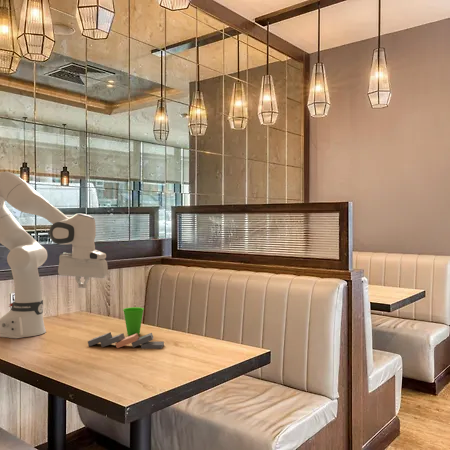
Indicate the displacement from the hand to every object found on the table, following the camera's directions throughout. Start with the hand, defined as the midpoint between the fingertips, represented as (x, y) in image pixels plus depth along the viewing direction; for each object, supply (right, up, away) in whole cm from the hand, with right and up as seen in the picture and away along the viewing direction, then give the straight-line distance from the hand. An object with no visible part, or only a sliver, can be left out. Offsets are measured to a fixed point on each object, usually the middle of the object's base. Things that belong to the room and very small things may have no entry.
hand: (82, 287), depth 185 cm
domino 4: (+22, -21, -6) cm, 31 cm away
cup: (+18, -22, +13) cm, 32 cm away
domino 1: (+5, -21, -4) cm, 22 cm away
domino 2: (+10, -21, -5) cm, 24 cm away
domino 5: (+26, -22, -6) cm, 34 cm away
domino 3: (+16, -21, -6) cm, 27 cm away
